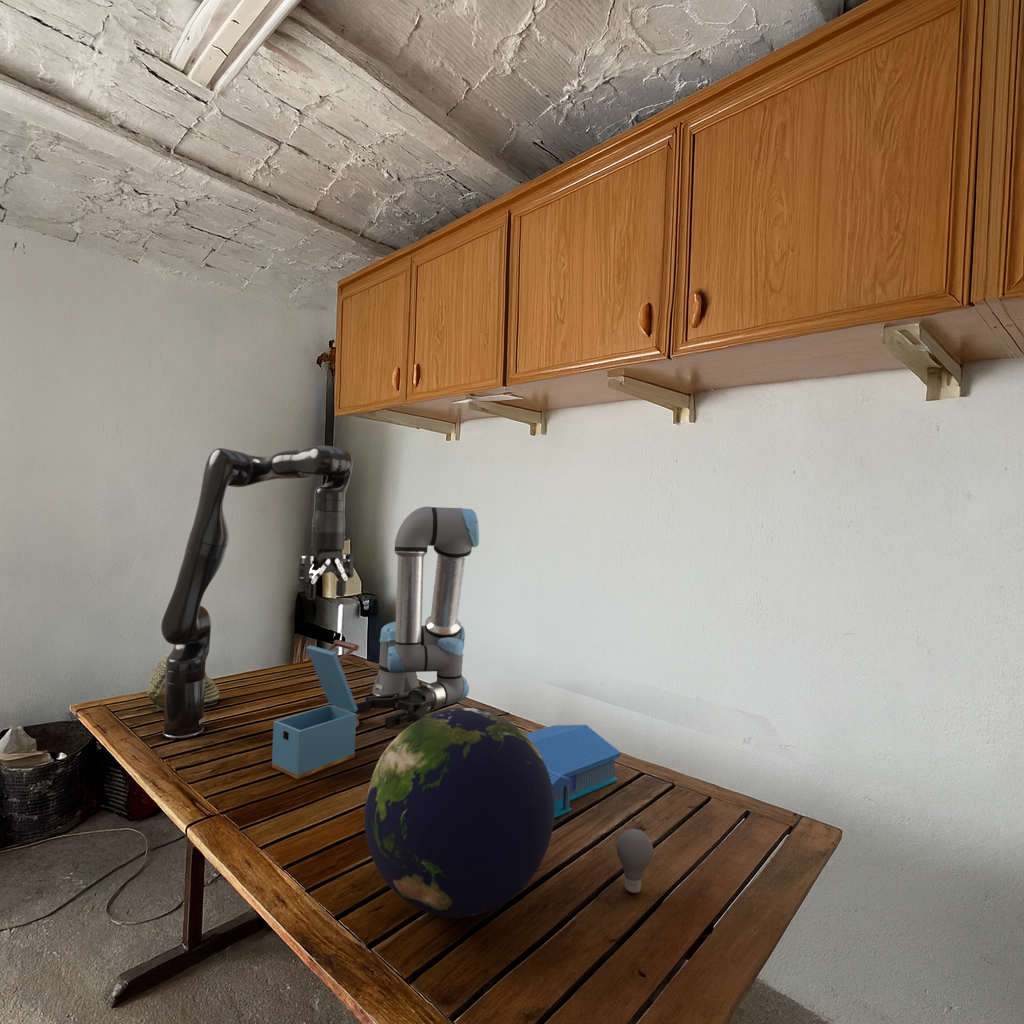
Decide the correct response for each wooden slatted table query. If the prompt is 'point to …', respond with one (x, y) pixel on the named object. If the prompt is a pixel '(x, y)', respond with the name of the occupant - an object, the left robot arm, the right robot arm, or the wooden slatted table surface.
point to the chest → (313, 740)
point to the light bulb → (634, 857)
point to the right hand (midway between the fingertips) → (368, 716)
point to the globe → (459, 812)
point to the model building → (574, 761)
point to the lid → (333, 674)
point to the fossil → (158, 687)
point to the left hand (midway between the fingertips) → (325, 597)
